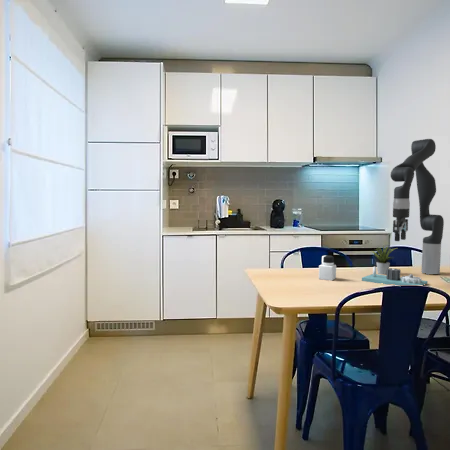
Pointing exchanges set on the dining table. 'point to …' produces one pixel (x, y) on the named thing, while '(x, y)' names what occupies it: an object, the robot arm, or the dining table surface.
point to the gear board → (403, 280)
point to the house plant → (383, 260)
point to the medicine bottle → (327, 268)
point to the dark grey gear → (393, 274)
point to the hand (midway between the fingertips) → (400, 240)
